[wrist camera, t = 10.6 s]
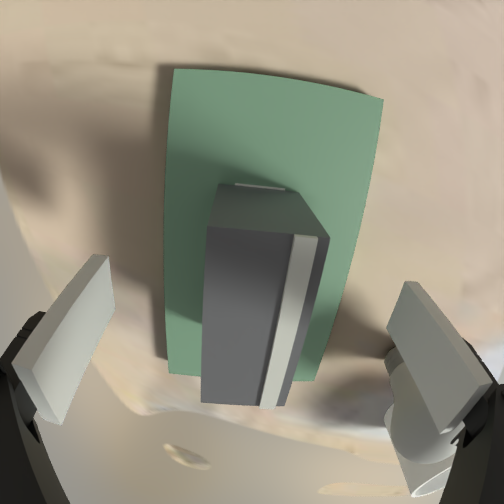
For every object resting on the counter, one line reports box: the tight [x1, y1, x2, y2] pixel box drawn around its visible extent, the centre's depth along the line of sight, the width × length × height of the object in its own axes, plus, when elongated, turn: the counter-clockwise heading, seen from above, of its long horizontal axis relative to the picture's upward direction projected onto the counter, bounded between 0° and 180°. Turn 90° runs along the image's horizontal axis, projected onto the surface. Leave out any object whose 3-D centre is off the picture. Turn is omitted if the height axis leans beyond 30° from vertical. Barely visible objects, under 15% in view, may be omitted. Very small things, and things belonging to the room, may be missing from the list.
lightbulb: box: [384, 347, 465, 464], centre depth 18 cm, size 6×6×11 cm
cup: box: [384, 403, 456, 497], centre depth 23 cm, size 8×12×10 cm
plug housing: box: [201, 184, 331, 409], centre depth 15 cm, size 9×4×6 cm, turn 173°
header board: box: [164, 69, 384, 381], centre depth 17 cm, size 20×11×5 cm, turn 173°
